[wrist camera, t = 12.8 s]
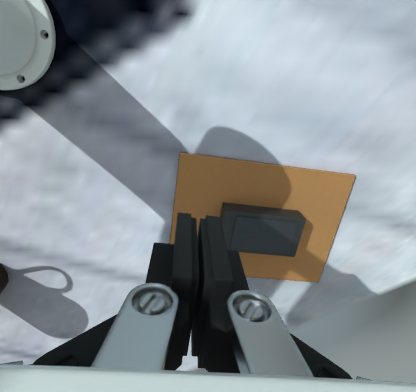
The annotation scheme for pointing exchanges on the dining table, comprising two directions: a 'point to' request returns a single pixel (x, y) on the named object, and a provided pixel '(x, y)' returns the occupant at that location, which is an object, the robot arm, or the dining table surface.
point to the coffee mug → (3, 278)
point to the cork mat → (267, 197)
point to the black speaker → (261, 229)
